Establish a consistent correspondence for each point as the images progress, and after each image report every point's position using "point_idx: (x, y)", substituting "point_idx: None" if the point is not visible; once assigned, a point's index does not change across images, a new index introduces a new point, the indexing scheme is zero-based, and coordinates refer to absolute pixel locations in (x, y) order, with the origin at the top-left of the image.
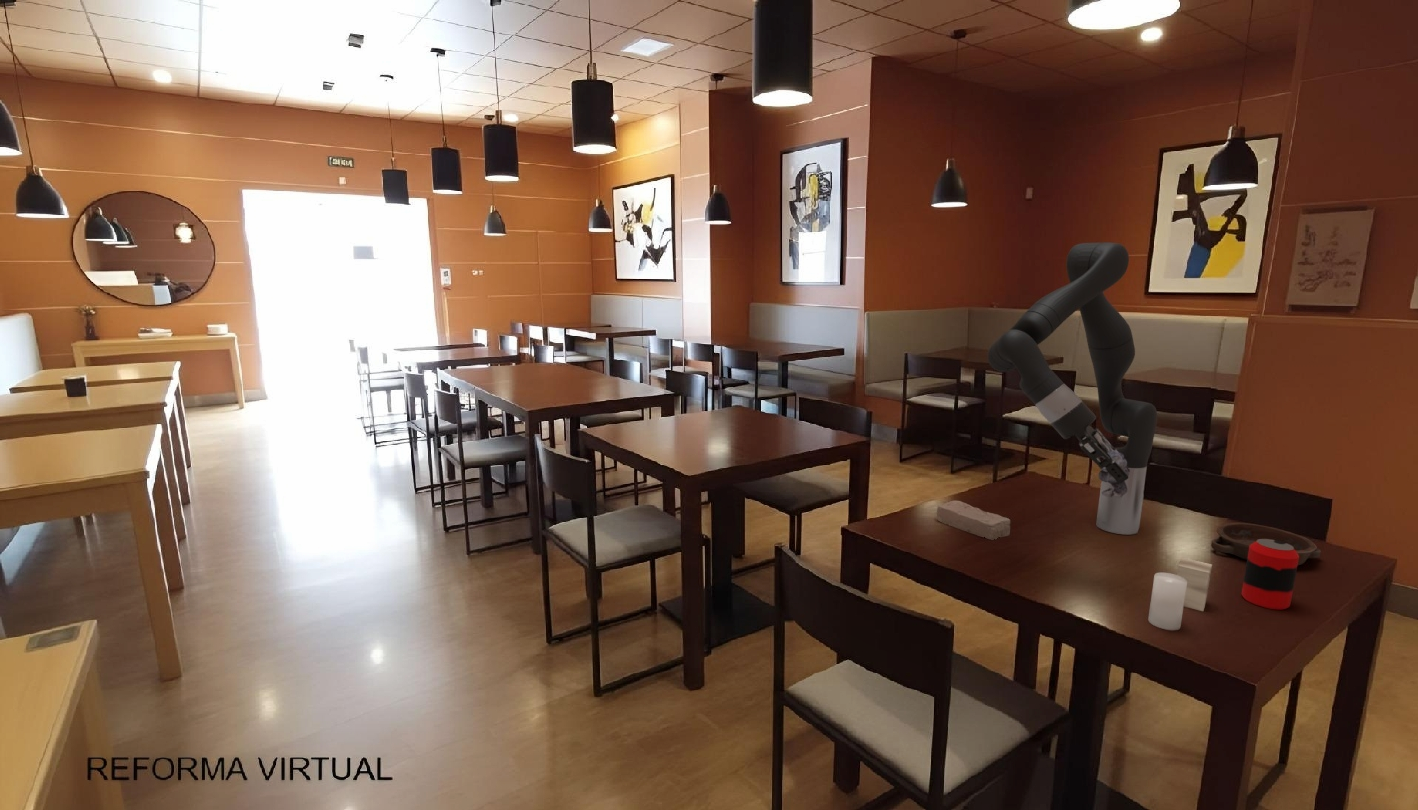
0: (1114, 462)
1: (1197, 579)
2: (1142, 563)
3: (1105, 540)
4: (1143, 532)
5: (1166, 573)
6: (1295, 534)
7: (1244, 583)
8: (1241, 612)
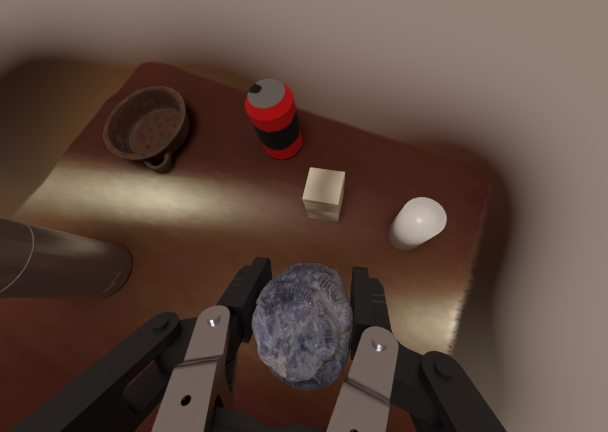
0: (389, 334)
1: (342, 188)
2: (226, 246)
3: (158, 287)
4: (117, 238)
5: (405, 220)
6: (129, 96)
7: (281, 150)
8: (325, 164)
